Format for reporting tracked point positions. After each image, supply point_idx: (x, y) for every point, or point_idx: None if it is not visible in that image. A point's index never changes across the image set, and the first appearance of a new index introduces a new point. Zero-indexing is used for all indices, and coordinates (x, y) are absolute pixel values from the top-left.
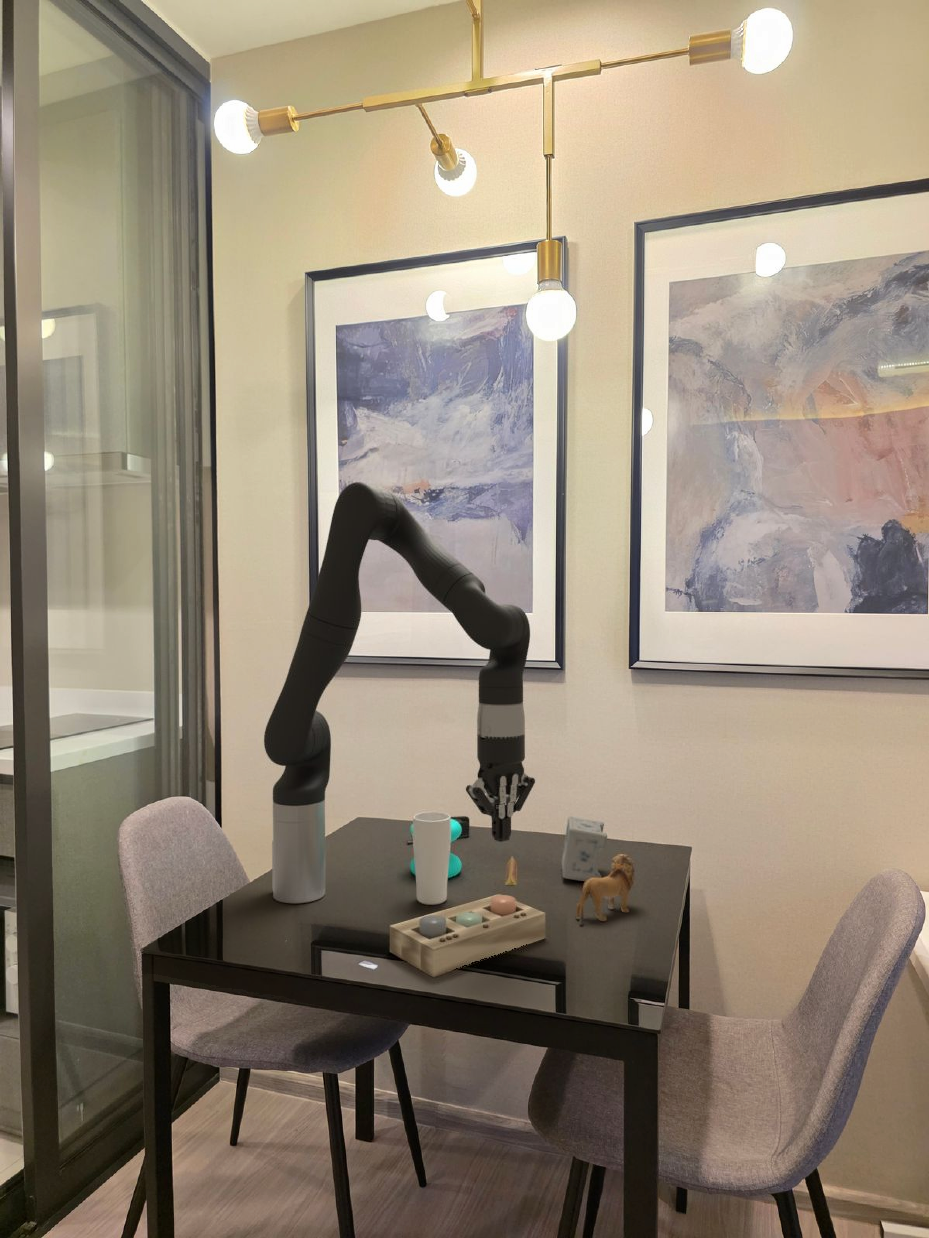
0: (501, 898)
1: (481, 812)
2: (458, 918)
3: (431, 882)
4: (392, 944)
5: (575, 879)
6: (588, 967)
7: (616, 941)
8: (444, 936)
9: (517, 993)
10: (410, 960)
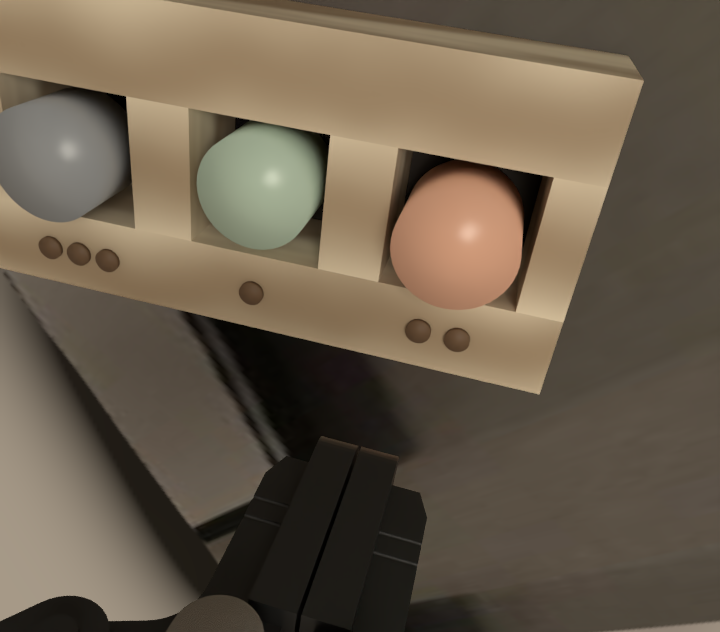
0: (462, 237)
1: (35, 609)
2: (207, 167)
3: None
4: None
5: None
6: (431, 510)
7: (667, 514)
8: (76, 228)
9: (183, 439)
10: None
